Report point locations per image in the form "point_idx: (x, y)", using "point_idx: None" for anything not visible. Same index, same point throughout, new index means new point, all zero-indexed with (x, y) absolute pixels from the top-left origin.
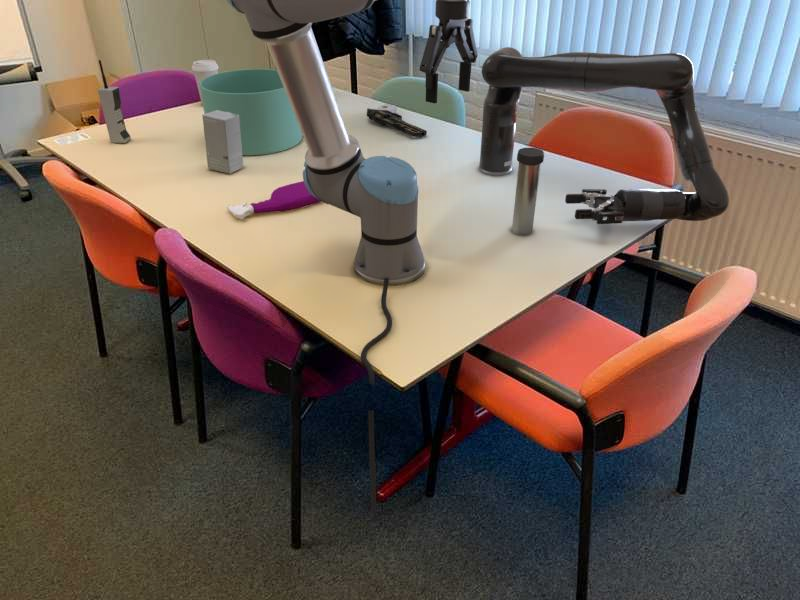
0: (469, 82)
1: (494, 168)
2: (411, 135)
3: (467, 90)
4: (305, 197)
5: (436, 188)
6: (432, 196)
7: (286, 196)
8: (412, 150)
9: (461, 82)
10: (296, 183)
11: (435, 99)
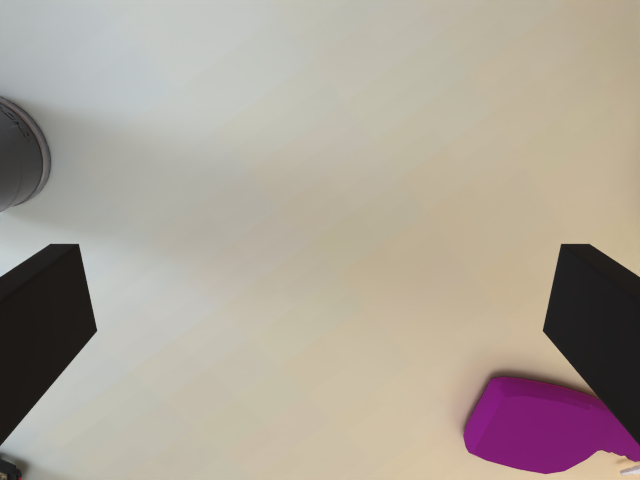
0: (7, 278)
1: (21, 129)
2: (19, 471)
3: (73, 251)
4: (562, 400)
5: (249, 213)
6: (303, 189)
7: (580, 432)
8: (82, 416)
9: (55, 347)
10: (506, 462)
11: (605, 257)
